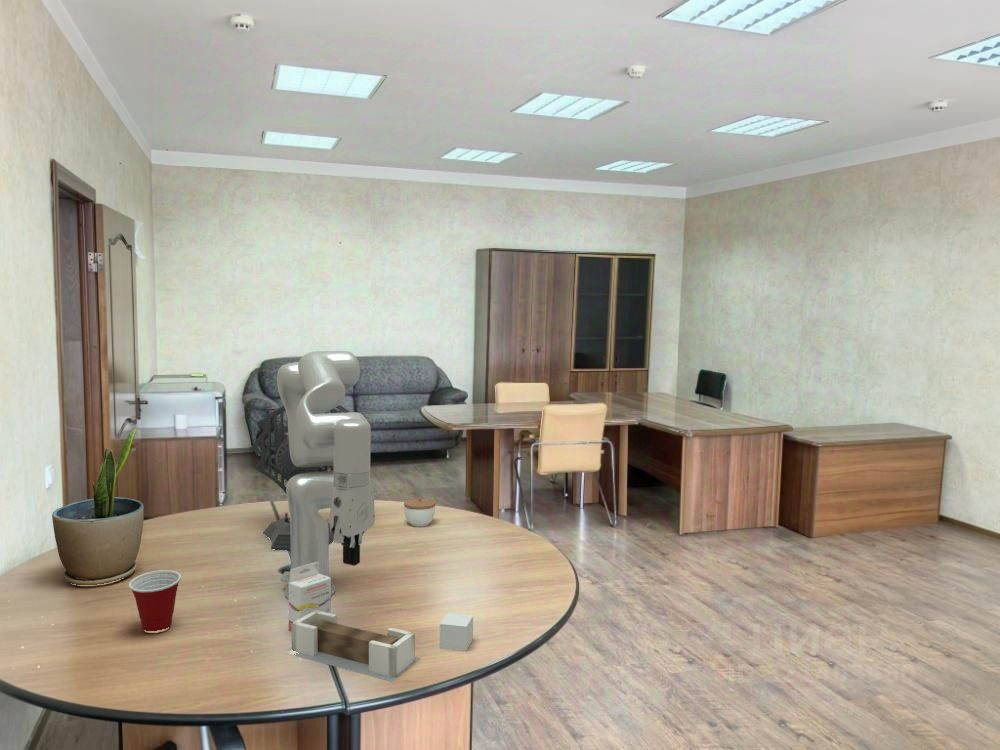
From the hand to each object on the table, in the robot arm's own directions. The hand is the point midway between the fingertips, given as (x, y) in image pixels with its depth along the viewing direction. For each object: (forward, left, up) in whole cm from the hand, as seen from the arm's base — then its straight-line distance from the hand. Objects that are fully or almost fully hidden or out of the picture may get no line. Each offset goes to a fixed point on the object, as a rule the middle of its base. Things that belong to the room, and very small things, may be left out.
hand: (351, 563), depth 157 cm
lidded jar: (-38, +90, -21) cm, 99 cm away
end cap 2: (+10, 0, -20) cm, 23 cm away
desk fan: (-61, +58, -21) cm, 86 cm away
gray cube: (+17, +15, -21) cm, 31 cm away
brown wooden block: (0, 0, -20) cm, 20 cm away
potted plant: (-88, +7, -21) cm, 90 cm away
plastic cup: (-48, -9, -21) cm, 53 cm away
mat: (0, 0, -20) cm, 20 cm away
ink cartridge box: (-17, +7, -21) cm, 27 cm away
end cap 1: (-10, 0, -20) cm, 22 cm away
